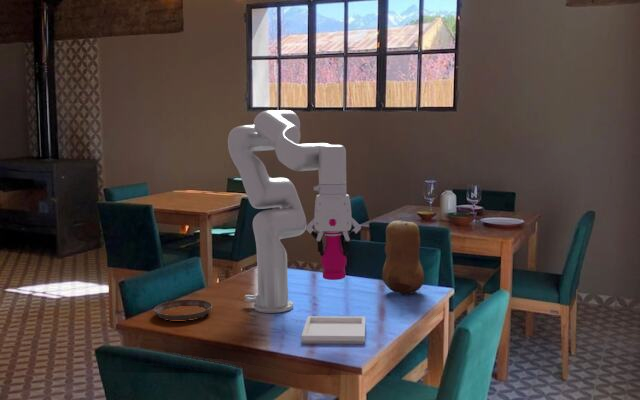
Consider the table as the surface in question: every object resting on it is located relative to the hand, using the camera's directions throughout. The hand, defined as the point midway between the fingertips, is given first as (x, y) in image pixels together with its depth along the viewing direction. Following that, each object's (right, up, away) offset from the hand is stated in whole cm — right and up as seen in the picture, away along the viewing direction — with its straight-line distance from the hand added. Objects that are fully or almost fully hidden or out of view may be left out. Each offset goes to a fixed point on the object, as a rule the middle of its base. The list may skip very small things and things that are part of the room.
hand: (333, 253), depth 185 cm
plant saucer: (-46, -21, +23) cm, 56 cm away
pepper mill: (0, -7, +1) cm, 7 cm away
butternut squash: (+25, -17, +43) cm, 52 cm away
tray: (0, -23, +3) cm, 23 cm away
